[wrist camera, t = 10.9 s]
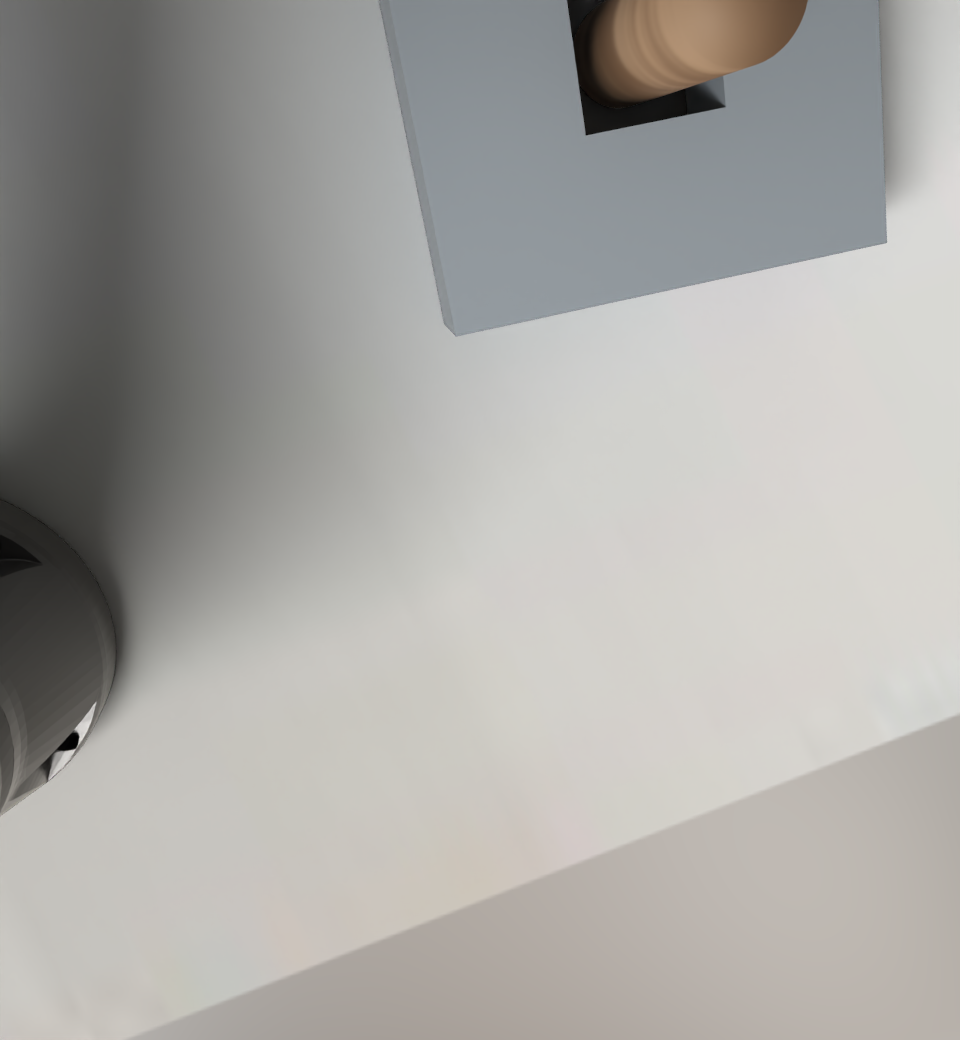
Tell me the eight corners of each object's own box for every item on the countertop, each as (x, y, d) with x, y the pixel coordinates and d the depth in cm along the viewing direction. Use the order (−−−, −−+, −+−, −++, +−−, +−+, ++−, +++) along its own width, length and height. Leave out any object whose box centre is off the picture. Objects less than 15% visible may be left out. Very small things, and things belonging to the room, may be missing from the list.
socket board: (444, 324, 40) (455, 336, 36) (345, -166, 33) (346, -213, 30) (836, 239, 41) (886, 242, 37) (810, -247, 35) (868, -302, 31)
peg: (578, 116, 38) (681, 78, 27) (565, 7, 36) (668, -81, 25) (671, 99, 38) (812, 55, 27) (662, -9, 37) (806, -103, 25)
